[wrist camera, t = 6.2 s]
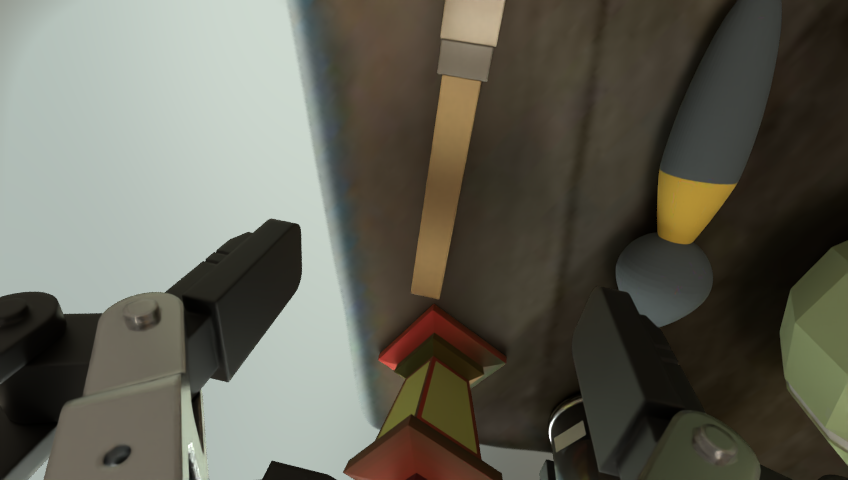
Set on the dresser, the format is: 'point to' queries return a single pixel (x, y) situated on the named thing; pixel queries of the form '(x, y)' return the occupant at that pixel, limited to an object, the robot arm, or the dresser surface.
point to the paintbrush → (703, 162)
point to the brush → (453, 129)
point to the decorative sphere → (820, 346)
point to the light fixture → (431, 405)
